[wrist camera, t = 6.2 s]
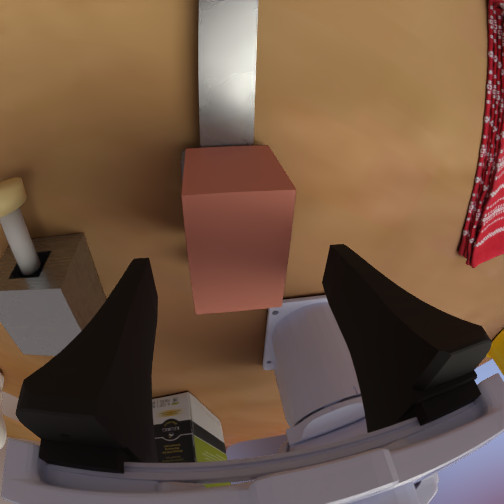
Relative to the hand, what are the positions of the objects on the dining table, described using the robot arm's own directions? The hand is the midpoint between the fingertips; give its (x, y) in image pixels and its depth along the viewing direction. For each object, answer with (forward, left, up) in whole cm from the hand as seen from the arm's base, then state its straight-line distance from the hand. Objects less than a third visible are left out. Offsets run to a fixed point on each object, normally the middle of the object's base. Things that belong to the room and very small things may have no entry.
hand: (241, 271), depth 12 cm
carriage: (0, 0, -7) cm, 7 cm away
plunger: (+1, +12, -5) cm, 13 cm away
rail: (+4, 0, -7) cm, 8 cm away
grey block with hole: (-5, +12, -7) cm, 15 cm away
